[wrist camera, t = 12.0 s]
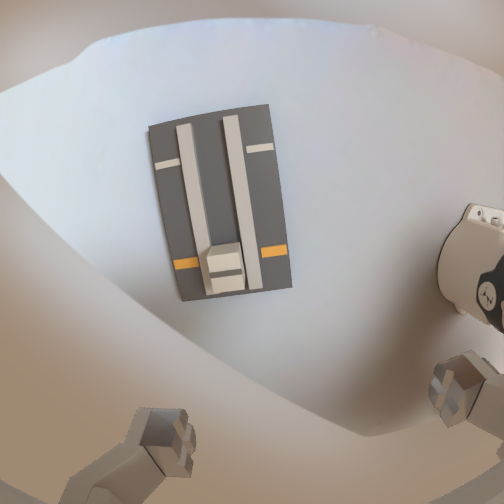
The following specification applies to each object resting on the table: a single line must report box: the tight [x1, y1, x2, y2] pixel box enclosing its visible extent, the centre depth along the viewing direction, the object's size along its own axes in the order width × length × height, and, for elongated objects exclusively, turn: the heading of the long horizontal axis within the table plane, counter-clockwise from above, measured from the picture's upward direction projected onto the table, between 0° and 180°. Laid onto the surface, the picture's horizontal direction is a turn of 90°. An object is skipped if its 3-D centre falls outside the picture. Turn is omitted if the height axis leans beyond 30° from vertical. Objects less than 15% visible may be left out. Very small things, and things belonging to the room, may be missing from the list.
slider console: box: [148, 104, 292, 301], centre depth 34 cm, size 14×22×3 cm, turn 8°
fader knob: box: [207, 242, 245, 293], centre depth 32 cm, size 3×4×5 cm
